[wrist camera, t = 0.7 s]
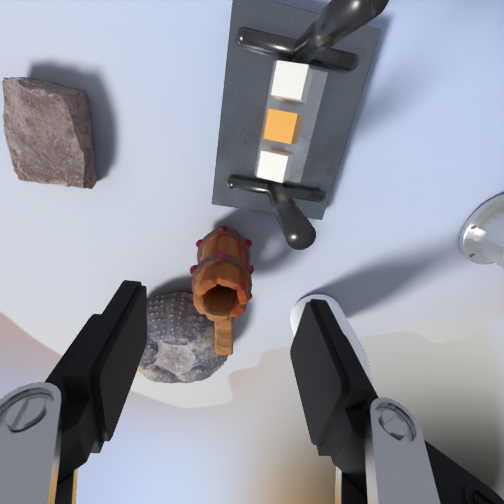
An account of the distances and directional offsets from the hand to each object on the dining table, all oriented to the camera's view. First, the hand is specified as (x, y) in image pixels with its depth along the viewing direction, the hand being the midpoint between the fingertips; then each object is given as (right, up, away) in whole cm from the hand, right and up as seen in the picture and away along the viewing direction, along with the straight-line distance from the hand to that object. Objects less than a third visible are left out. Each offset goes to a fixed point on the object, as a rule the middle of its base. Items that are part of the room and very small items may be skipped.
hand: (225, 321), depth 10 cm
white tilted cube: (+6, +21, +18) cm, 28 cm away
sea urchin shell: (-12, -11, +39) cm, 42 cm away
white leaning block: (+5, +14, +22) cm, 26 cm away
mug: (-3, +1, +33) cm, 33 cm away
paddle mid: (+5, +17, +20) cm, 27 cm away
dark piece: (+5, +19, +24) cm, 31 cm away
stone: (-23, +17, +23) cm, 37 cm away
